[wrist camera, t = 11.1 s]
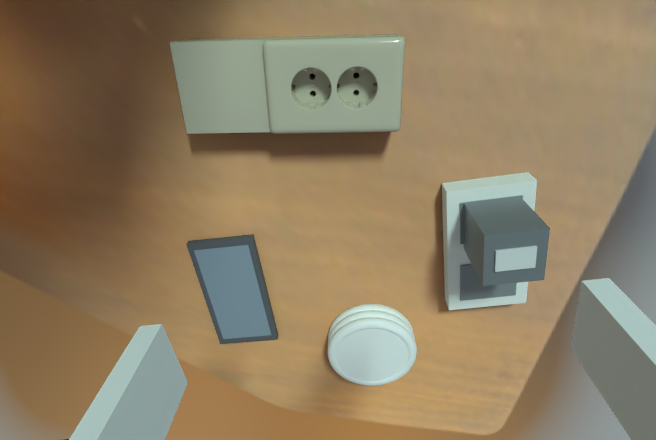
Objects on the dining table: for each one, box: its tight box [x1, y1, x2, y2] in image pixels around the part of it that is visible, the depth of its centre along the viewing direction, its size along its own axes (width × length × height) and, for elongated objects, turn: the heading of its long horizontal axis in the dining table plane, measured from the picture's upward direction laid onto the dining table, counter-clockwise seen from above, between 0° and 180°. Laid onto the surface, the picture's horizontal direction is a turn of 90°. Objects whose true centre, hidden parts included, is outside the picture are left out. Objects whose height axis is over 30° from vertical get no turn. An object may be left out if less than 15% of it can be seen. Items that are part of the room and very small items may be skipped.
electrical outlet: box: [170, 34, 405, 134], centre depth 34 cm, size 7×4×18 cm
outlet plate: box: [442, 172, 537, 310], centre depth 41 cm, size 14×8×2 cm, turn 9°
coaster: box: [328, 304, 417, 386], centre depth 47 cm, size 10×10×4 cm
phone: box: [187, 234, 278, 344], centre depth 46 cm, size 14×7×1 cm, turn 7°
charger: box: [464, 196, 550, 286], centre depth 36 cm, size 5×5×6 cm
